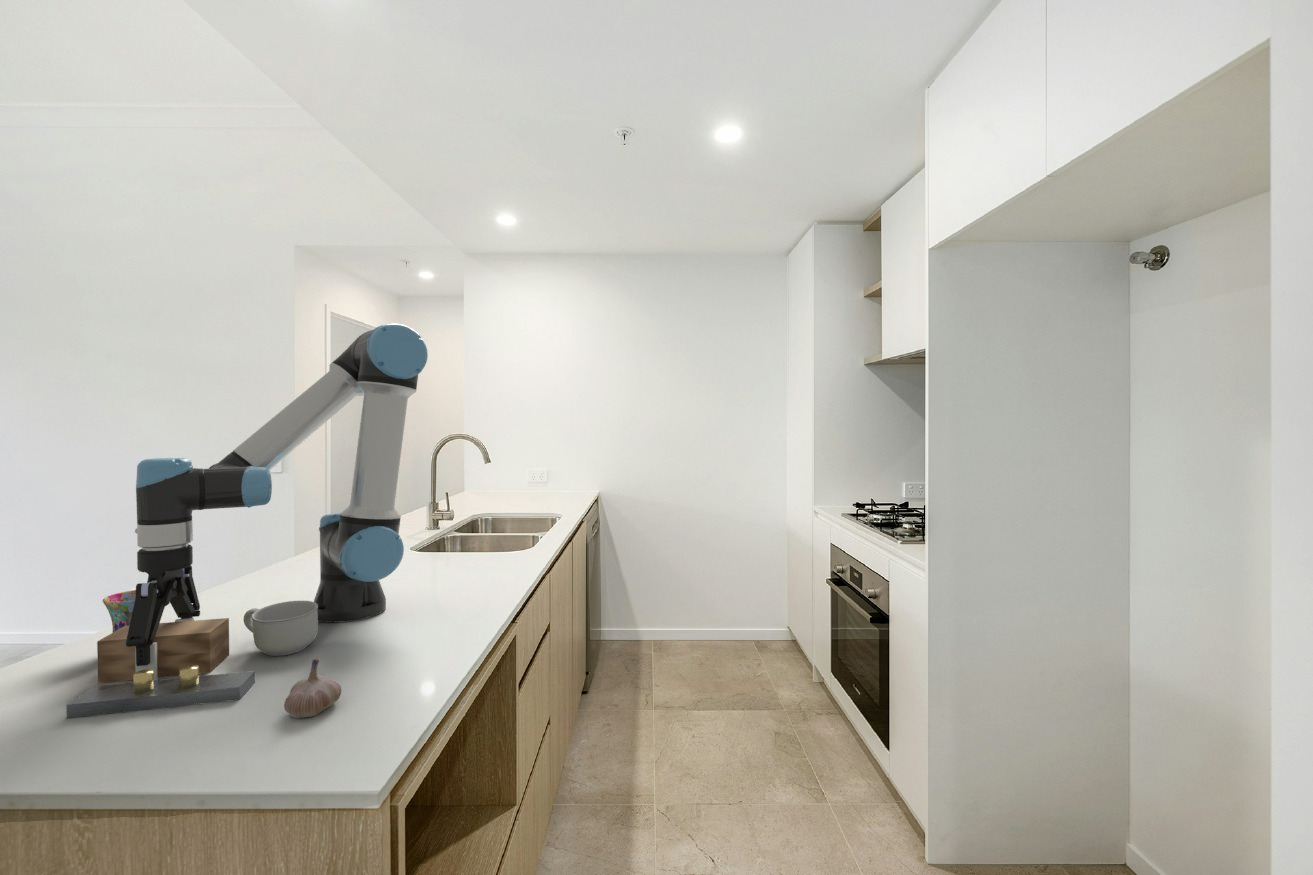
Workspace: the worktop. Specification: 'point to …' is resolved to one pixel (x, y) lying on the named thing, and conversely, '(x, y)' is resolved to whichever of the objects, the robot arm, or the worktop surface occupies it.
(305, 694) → the garlic bulb
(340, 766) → the worktop surface
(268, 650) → the teacup
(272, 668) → the worktop surface
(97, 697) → the mount rail
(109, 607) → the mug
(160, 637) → the brown wooden block
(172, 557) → the robot arm
